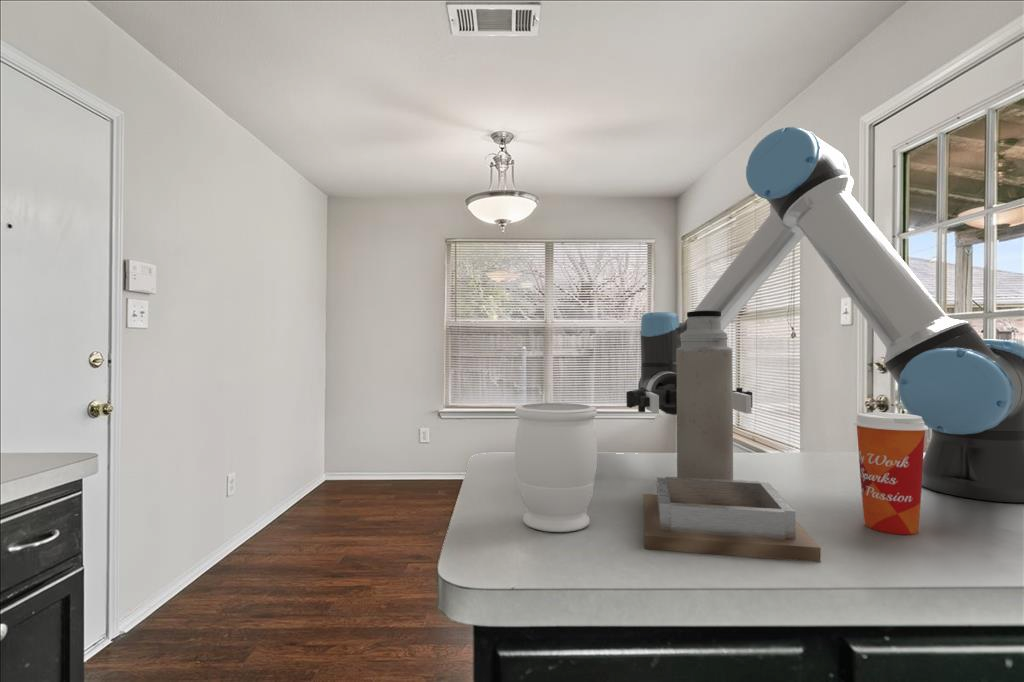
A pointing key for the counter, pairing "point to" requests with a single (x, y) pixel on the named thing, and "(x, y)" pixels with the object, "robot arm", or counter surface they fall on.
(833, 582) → the counter surface
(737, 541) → the walnut dock board
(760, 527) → the steel collar
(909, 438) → the paper cup
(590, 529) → the counter surface
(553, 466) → the jar
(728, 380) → the thermos bottle
